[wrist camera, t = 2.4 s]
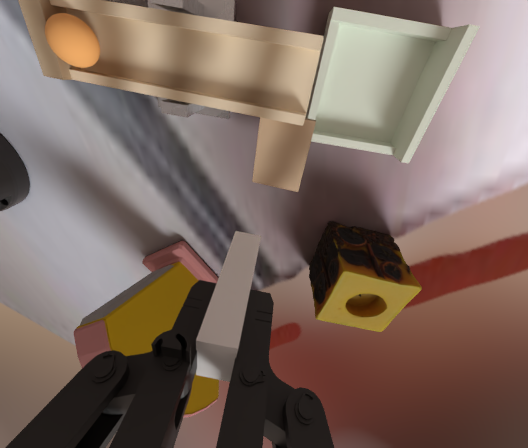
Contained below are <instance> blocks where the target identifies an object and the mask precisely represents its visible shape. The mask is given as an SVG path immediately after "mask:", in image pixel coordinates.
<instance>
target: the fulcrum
mask: <svg viewBox="0 0 528 448" xmlns="http://www.w3.org/2000/svg"><path fill="white" fill-rule="evenodd" d="M147 1H148V8H154V9H160V10H166V11H172V12H178V13H185V14H191V15H197V16H203V17H209V18H215V19H222V20H228V21H234V22H235V15H236V1H235V0H147ZM158 106H159V107H161V110H162V113H165V114H171V115H177V116H182V117H189V116H191V115H193V114H194V113H197V114H202V115H208V116H214V117H220V118H226V119H229V118H230V111H226V110H221V109H216V108H211V107H206V106H201V105H196V104H192V103H187V102H182V101H177V100H172V99H167V98H162V97H158Z"/></svg>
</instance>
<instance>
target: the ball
mask: <svg viewBox="0 0 528 448" xmlns="http://www.w3.org/2000/svg"><path fill="white" fill-rule="evenodd" d="M45 36H46V39H47V42H48V44H49V46H50V47H51V49H52V50H53V52H54V53H55V54H56V55H57V56H58V57H59V58H60V59H62V60H63V61H65V62H66V63H68V64H70V65H72V66H75V67H80V68H86V67H90V66H93V65H94V64H95V63H96V62H97V61H98V59H99V57H100V45H99V41H98V39H97V37H96V35H95V33H94V32H93V31H92V29H91V28H90V27H89V26H88V25H87V24H86V23H85V22H83V21H82V20H81V19H79V18H77V17H75V16H73V15H70V14H67V13H58V14H54V15H52V16H51V17H49V18H48V20H47V22H46V24H45Z"/></svg>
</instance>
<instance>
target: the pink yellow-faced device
mask: <svg viewBox="0 0 528 448" xmlns="http://www.w3.org/2000/svg"><path fill="white" fill-rule="evenodd" d="M143 264H144V265H145V266H146V267H147V268H148V269H149V270H150V271H151V272H152V273H150V274H149V275H147V276H146V277H144V278H143V279H141V280H140V281H138V282H137V283H136V284H134V285H133V286H131V287H130V288H128V289H127V290H125V291H124V292H122V293H121V294H119V295H118V296H116V297H115V298H113V299H112V300H110V301H109V302H107V303H106V304H104V305H103V306H101V307H100V308H98V309H97V310H95V311H94V312H92V313H91V314H89V315H88V316H86V317H85V318H83V319H82V322H81V324H80V326H78V327H77V328H76V329H75V331H74V337H75V343H76V349H77V354H78V358H79V361H80V363H81V366H82V368H83V367H84V366H85V365H86V364H87V363H88V362H89V361H90V360H92V359H93V358H94V357H95V356H97V355H99V354H101V353H103V352H105V351H112V350H115V351H119V352H121V353H122V354H124V355H125V356H130V355H137V354H144V353H148V352H151V351H153V350H152V345H151V344H152V342H153V341H154V340H155V338H156V337H157V336H159V335H160V334H162V333H163V332H166V331H169V330H171V329H172V327H173V325H174V323H175V321H176V319H177V316H178V314H179V312H180V310H181V308H182V307H183V304H184V302H185V300H186V298H187V295H188V293H189V291H190V289H191V287H192V286H193V285H194V284H195V283H196V282H198V281H199V280H203V281H208V282H213V283H217V281H218V279H219V278H218V277H217V276H216V275H215V274H214V273H213V272H212V271H211V270H210V268H209V267H208V266H207V265H206V264H205V263H204V262H203V261H202V260H201V259H200V257H199V256H198V255H197V254H196V253H195V252H194V251H193V250H192V249H191V248H190V247H189V245H188V244H187V243H186V242H185V241H180V242H177V243H175V244H173V245H171V246H169V247H166V248H164V249H162V250H160V251H157V252H155V253H153V254H151V255H149V256H146V257H145V258H144V259H143ZM218 390H219V380H218V379H213V378H208V377H203V376H199V375H196V373H195V376H194V379H193V382H192V389H191V394H190V397H189V401H188V404H187V407H186V410H185V413H184V416H183V418H184V417H191V416H193V415H195V414H197V413H199V412H202V411H204V410H205V409H207V408H208V407H209V406H211V405H212V404H213V403H214V402H216V401H217V399H218Z"/></svg>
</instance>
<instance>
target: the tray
mask: <svg viewBox="0 0 528 448" xmlns="http://www.w3.org/2000/svg"><path fill="white" fill-rule="evenodd" d="M479 27H480V26H475V25H465V26H460V27H455V28H449V27H444V26H438V25H433V24H427V23H422V22H416V21H410V20H405V19H399V18H394V17H388V16H383V15H377V14H372V13H366V12H361V11H355V10H350V9H344V8H339V7H333V9H332V10H331V11H330V12H329V15H328V19H327V24H326V28H325V32H324V37H323V43H322V48H321V52H320V56H319V61H318V65H317V69H316V74H315V78H314V83H313V87H312V91H311V96H310V100H309V105H308V109H307V113H306V118H308V119H313V120H316V124H315V128H314V132H313V135H312V139H311V141H312V142H318V143H324V144H330V145H336V146H342V147H348V148H354V149H360V150H365V151H371V152H377V153H383V154H389V155H393V156H394V157H396V158H397V159H398V160H399V161H400V162H403V163H409V162H410V160H411V158H412V156H413V154H414V152H415V150H416V149H417V147H418V145H419V143H420V141H421V139H422V137H423V135H424V133H425V131H426V129H427V127H428V125H429V123H430V122H431V120H432V118H433V116H434V114H435V112H436V110H437V108H438V106H439V104H440V102H441V100H442V98H443V96H444V95H445V93H446V91H447V89H448V87H449V85H450V83H451V81H452V79H453V77H454V75H455V73H456V71H457V69H458V68H459V66H460V64H461V62H462V60H463V58H464V56H465V54H466V52H467V50H468V48H469V46H470V44H471V42H472V41H473V39H474V37H475V35H476V33H477V31H478V29H479Z"/></svg>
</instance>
